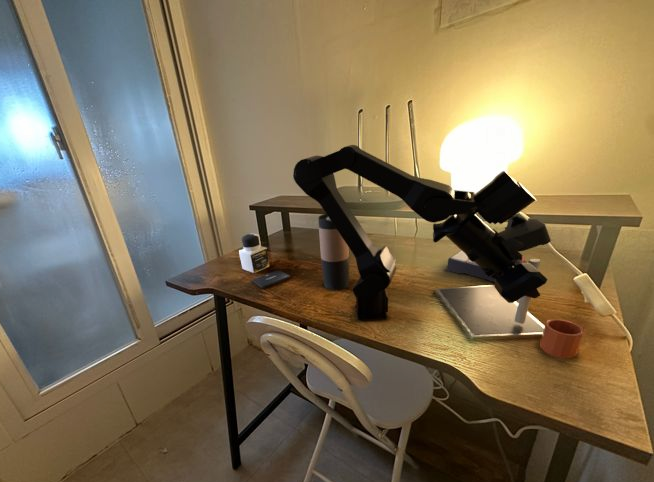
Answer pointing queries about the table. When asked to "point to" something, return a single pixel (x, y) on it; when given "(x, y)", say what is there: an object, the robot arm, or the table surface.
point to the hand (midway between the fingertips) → (535, 294)
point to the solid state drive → (270, 279)
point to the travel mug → (333, 255)
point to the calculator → (467, 266)
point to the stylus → (525, 299)
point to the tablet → (487, 313)
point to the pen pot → (561, 338)
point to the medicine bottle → (253, 254)
